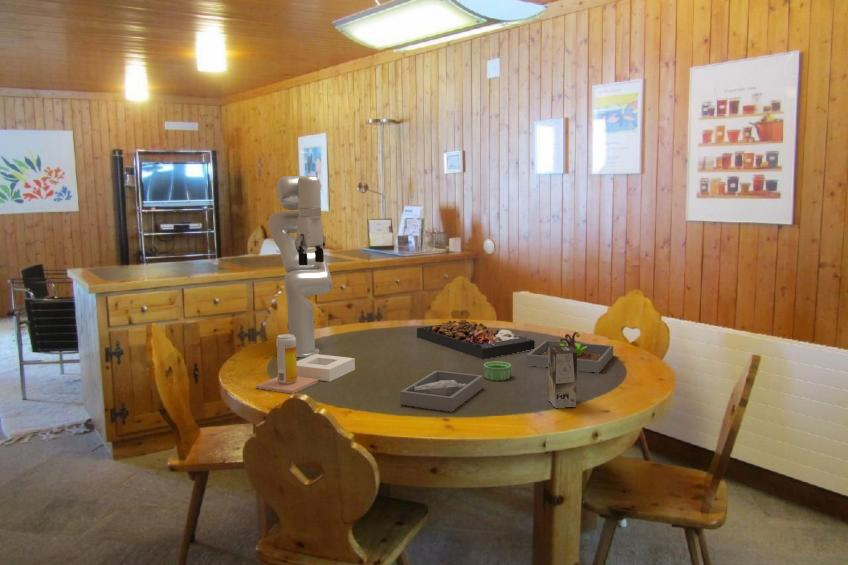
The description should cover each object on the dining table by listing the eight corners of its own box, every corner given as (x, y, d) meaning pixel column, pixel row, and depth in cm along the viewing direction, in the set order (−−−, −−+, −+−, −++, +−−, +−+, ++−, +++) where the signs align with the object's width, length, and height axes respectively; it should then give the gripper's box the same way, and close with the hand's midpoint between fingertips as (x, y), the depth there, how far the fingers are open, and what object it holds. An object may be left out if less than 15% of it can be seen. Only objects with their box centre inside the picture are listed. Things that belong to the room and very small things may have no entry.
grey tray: (400, 404, 204) (400, 391, 203) (435, 382, 226) (435, 370, 225) (451, 412, 197) (451, 398, 196) (483, 388, 219) (483, 375, 219)
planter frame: (526, 366, 245) (526, 354, 245) (545, 350, 268) (545, 340, 267) (599, 373, 235) (599, 361, 234) (613, 356, 257) (613, 345, 256)
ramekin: (478, 375, 234) (478, 363, 233) (502, 372, 237) (502, 360, 237) (491, 382, 225) (491, 369, 225) (516, 379, 229) (516, 366, 228)
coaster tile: (255, 388, 221) (255, 385, 221) (282, 377, 234) (282, 374, 233) (292, 394, 215) (292, 390, 215) (318, 382, 228) (318, 379, 227)
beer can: (300, 380, 226) (299, 334, 224) (291, 385, 220) (289, 338, 218) (283, 378, 228) (282, 333, 226) (274, 384, 222) (272, 337, 220)
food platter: (534, 351, 268) (534, 325, 267) (482, 361, 255) (482, 333, 254) (465, 331, 306) (465, 308, 304) (416, 338, 293) (416, 314, 291)
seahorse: (457, 382, 222) (405, 383, 210) (481, 377, 213) (427, 378, 201) (459, 399, 220) (406, 401, 209) (483, 394, 212) (429, 396, 200)
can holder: (288, 376, 235) (288, 364, 234) (315, 365, 249) (315, 353, 249) (329, 381, 228) (329, 369, 228) (354, 369, 242) (354, 358, 242)
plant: (566, 372, 238) (566, 339, 237) (533, 359, 256) (533, 329, 254) (612, 365, 247) (613, 333, 245) (577, 353, 264) (578, 323, 263)
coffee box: (577, 408, 199) (578, 352, 197) (554, 409, 199) (555, 353, 196) (567, 398, 208) (568, 345, 206) (546, 399, 208) (547, 345, 205)
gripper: (315, 212, 249) (316, 260, 251) (285, 214, 233) (287, 265, 236) (333, 212, 246) (334, 261, 248) (304, 214, 230) (306, 266, 233)
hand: (311, 263), depth 242 cm, fingers open, 9 cm apart
